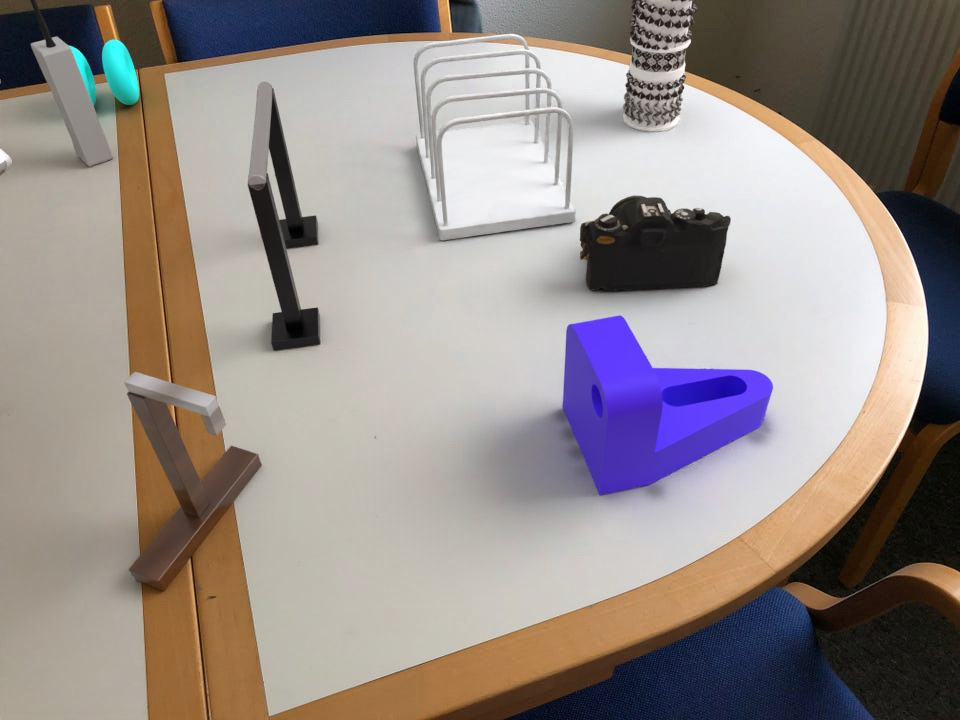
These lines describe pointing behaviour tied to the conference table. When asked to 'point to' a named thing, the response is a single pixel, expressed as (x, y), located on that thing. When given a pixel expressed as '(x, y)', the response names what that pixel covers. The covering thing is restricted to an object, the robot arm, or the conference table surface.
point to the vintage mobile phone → (71, 96)
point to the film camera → (653, 246)
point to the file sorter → (492, 155)
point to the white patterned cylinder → (657, 63)
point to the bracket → (649, 407)
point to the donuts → (112, 72)
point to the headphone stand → (184, 475)
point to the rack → (280, 224)
